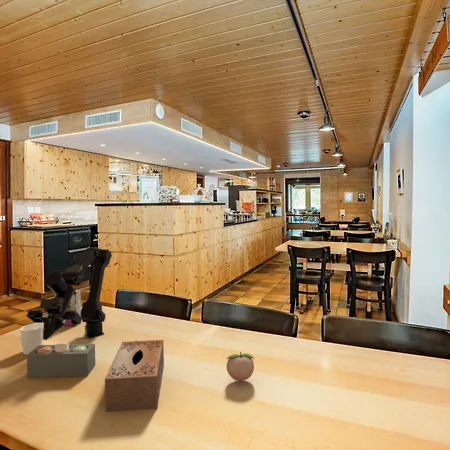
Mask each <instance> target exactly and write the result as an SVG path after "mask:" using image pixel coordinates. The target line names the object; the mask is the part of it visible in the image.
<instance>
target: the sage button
mask: <svg viewBox="0 0 450 450" xmlns="http://www.w3.org/2000/svg"><path fill="white" fill-rule="evenodd" d="M85 350H86V346H77V347H75V348H73V352H84V351H85Z"/></svg>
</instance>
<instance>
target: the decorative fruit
mask: <svg viewBox="0 0 450 450" xmlns="http://www.w3.org/2000/svg"><path fill="white" fill-rule="evenodd" d="M254 360H255V357H254V356H253V355H251V354H250V353H242V351H240V354H237V353H233V354H229V355H228V356H227V357H226V371H227V373H228V375H229V377H231V379H232V380H235V381H237V382H242V381H245V380H248V379H250V378H251V376H253V374H254V370H255V363H254Z"/></svg>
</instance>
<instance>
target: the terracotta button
mask: <svg viewBox="0 0 450 450" xmlns="http://www.w3.org/2000/svg"><path fill="white" fill-rule="evenodd" d="M51 350H52V348H51V347H42V348H40V349H38V350H37V353H49V352H50V351H51Z"/></svg>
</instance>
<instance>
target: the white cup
mask: <svg viewBox="0 0 450 450" xmlns="http://www.w3.org/2000/svg"><path fill="white" fill-rule="evenodd" d="M43 331H44V324H43V323H30V324H26V325H23V326H21V327H20V328H19V332H20V342H21V348H22V349H21V351H22V354H23V355H26V356H27V354H29V353H30V352H31V351H32V350H33V349H35V348H36V347H37V346H38V345H43V342H44V341H43V340H44V339H43Z"/></svg>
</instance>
